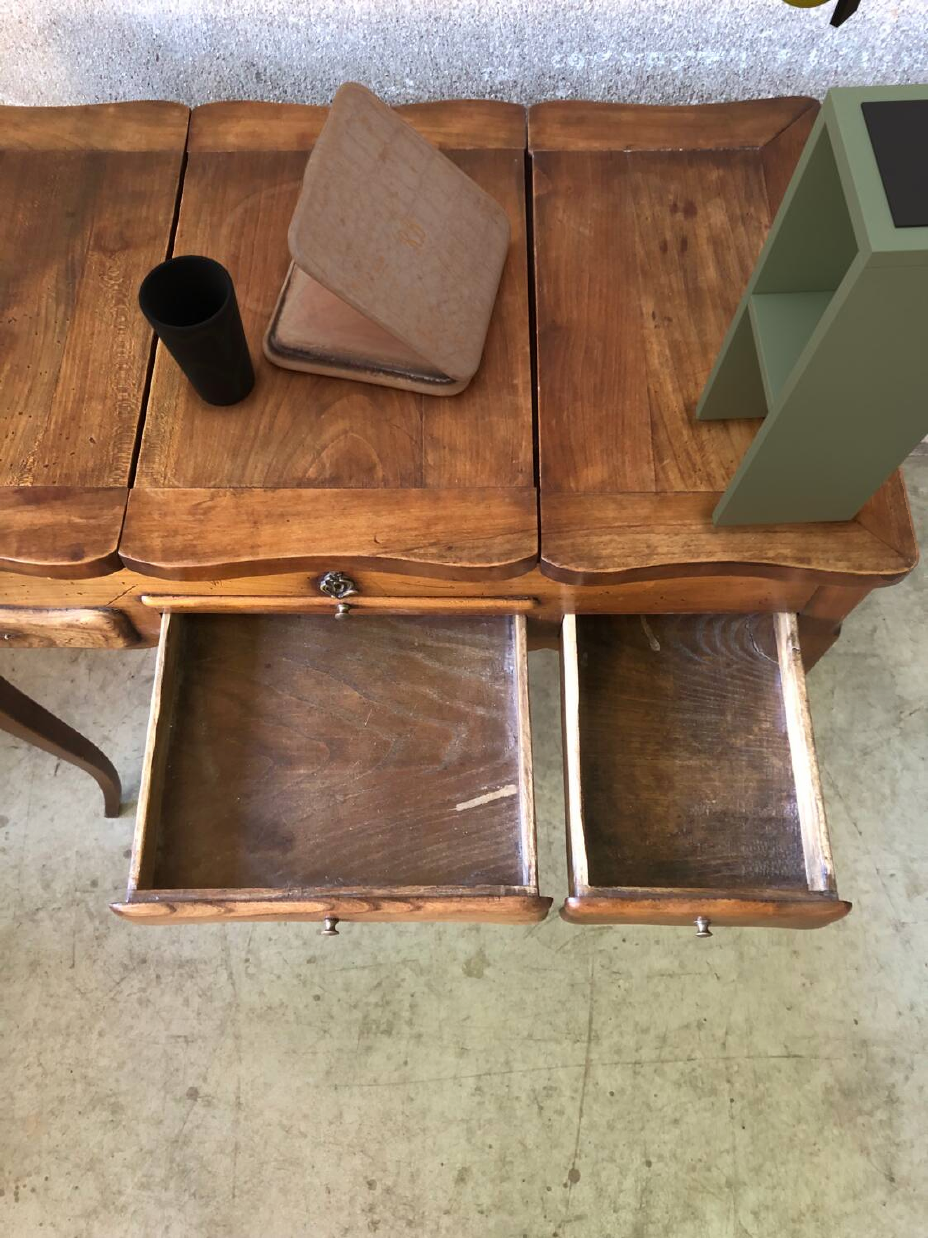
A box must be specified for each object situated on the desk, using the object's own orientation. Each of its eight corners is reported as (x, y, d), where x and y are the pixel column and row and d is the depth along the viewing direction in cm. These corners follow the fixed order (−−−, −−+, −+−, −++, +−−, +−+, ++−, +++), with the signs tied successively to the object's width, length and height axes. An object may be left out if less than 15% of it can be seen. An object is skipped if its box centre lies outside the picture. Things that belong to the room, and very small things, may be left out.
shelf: (824, 403, 79) (1039, 74, 49) (850, 520, 75) (1102, 238, 45) (694, 409, 79) (830, 83, 49) (713, 526, 75) (874, 248, 45)
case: (472, 408, 80) (471, 284, 65) (255, 367, 82) (206, 238, 66) (516, 238, 87) (525, 91, 72) (315, 204, 88) (283, 54, 73)
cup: (262, 416, 80) (227, 330, 68) (179, 415, 80) (131, 329, 69) (269, 347, 82) (237, 253, 71) (190, 347, 82) (145, 253, 71)
